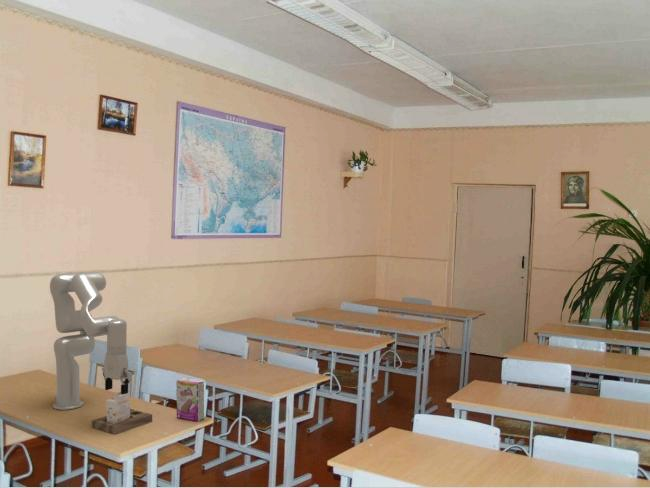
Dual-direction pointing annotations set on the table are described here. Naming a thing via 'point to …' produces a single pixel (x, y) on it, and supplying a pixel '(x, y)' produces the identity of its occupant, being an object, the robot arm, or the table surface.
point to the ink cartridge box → (118, 408)
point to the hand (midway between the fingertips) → (116, 391)
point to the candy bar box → (190, 399)
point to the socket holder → (122, 422)
